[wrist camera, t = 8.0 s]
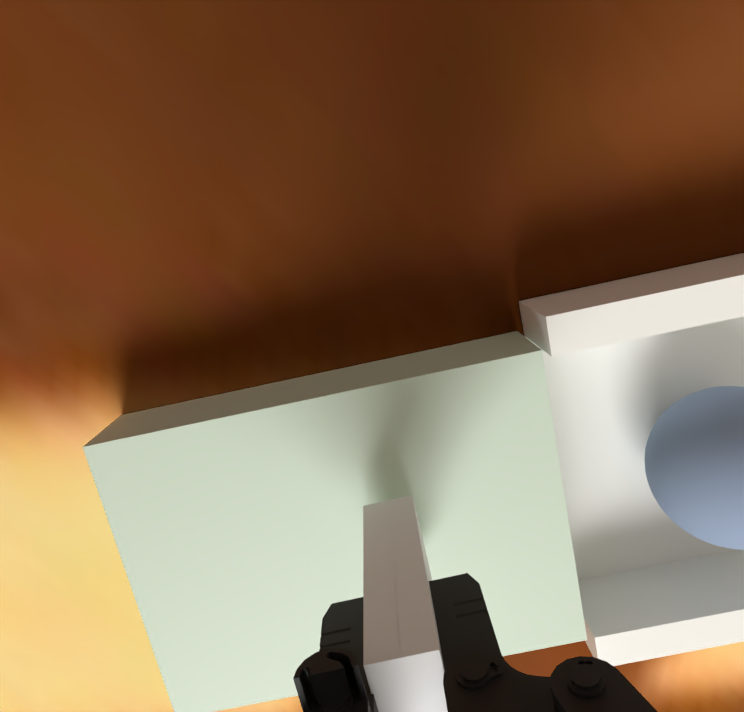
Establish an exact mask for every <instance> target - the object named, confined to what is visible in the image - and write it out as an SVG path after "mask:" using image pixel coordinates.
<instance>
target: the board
mask: <svg viewBox="0 0 744 712" xmlns="http://www.w3.org/2000/svg"><path fill="white" fill-rule="evenodd" d="M83 449H84V452H85V455H86V458H87V461H88V464H89V467H90V470H91V472H92V475H93V478H94V481H95V484H96V487H97V490H98V493H99V496H100V498H101V501H102V504H103V507H104V510H105V513H106V516H107V519H108V522H109V524H110V527H111V530H112V533H113V536H114V539H115V542H116V545H117V548H118V550H119V553H120V556H121V559H122V562H123V565H124V568H125V571H126V574H127V577H128V579H129V582H130V585H131V588H132V591H133V594H134V597H135V600H136V603H137V605H138V608H139V611H140V614H141V617H142V620H143V623H144V626H145V629H146V631H147V634H148V637H149V640H150V643H151V646H152V649H153V652H154V655H155V657H156V660H157V663H158V666H159V669H160V672H161V675H162V678H163V681H164V684H165V686H166V689H167V692H168V695H169V698H170V701H171V704H172V707H173V710H174V712H214V711H219V710H225V709H230V708H235V707H240V706H245V705H251V704H256V703H261V702H266V701H272V700H277V699H282V698H287V697H292V696H298V693H297V690H296V686H295V683H294V680H293V678H294V675H295V672H296V670H297V668H298V667H299V666H300V665H301V663H302V662H303V661H304V660H305V659H307V658H308V657H310V656H311V655H313V654H314V653H316V652H319V649H320V637H321V627H322V618H323V617H324V615H325V614H326V612H327V610H328V609H329V607H330V605H331V604H332V603H337V602H342V601H346V600H351V599H356V598H360V597H363V506H365V505H369V504H374V503H378V502H383V501H387V500H392V499H396V498H401V497H405V496H410V495H412V496H413V500H414V504H415V508H416V513H417V517H418V521H419V525H420V529H421V534H422V538H423V542H424V546H425V550H426V555H427V559H428V563H429V567H430V571H431V576H432V580H437V579H442V578H446V577H451V576H456V575H460V574H465V573H468V574H469V575H470V576H471V577H473V578H474V579H475V580H476V581H477V582H478V583H479V584H480V587H481V590H482V594H483V597H484V600H485V603H486V606H487V610H488V613H489V616H490V619H491V622H492V626H493V629H494V632H495V635H496V639H497V642H498V645H499V648H500V651H501V654H502V656H506V655H511V654H517V653H522V652H527V651H532V650H537V649H543V648H548V647H553V646H558V645H564V644H569V643H574V642H579V641H584V640H587V635H586V628H585V622H584V616H583V609H582V603H581V596H580V590H579V584H578V577H577V571H576V564H575V558H574V552H573V545H572V539H571V532H570V526H569V520H568V513H567V507H566V500H565V494H564V488H563V481H562V475H561V468H560V462H559V456H558V449H557V443H556V436H555V430H554V424H553V417H552V411H551V404H550V398H549V392H548V385H547V379H546V372H545V366H544V360H543V353H542V350H541V349H540V348H539V347H537V346H536V345H535V344H533V343H532V342H531V341H530V340H528V339H527V338H526V337H524V336H523V335H522V334H521V333H519V332H518V331H514V332H510V333H505V334H500V335H496V336H491V337H486V338H482V339H477V340H472V341H467V342H463V343H458V344H453V345H449V346H444V347H439V348H434V349H430V350H425V351H420V352H416V353H411V354H406V355H402V356H397V357H392V358H387V359H383V360H378V361H373V362H369V363H364V364H359V365H354V366H350V367H345V368H340V369H336V370H331V371H326V372H321V373H317V374H312V375H307V376H303V377H298V378H293V379H289V380H284V381H279V382H274V383H270V384H265V385H260V386H256V387H251V388H246V389H241V390H237V391H232V392H227V393H223V394H218V395H213V396H209V397H204V398H199V399H194V400H190V401H185V402H180V403H176V404H171V405H166V406H161V407H157V408H152V409H147V410H143V411H138V412H133V413H129V414H124V415H121V416H120V417H118V418H117V419H116V420H115V421H114V422H112V423H111V424H110V425H109V426H108V427H106V428H105V429H104V430H103V431H101V432H100V433H99V434H98V435H97V436H95V437H94V438H93V439H92V440H91V441H89V442H88V443H87V444H86V445H85V446H83Z"/></svg>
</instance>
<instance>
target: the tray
mask: <svg viewBox="0 0 744 712" xmlns="http://www.w3.org/2000/svg"><path fill="white" fill-rule="evenodd" d="M519 308H520V314H521V320H522V326H523V332H524V337H526V338H527V339H528V340H530V341H531V342H532V343H533V344H535V345H536V346H537V347H539V348H540V349H541V350H542V353H543V360H544V366H545V372H546V379H547V385H548V392H549V398H550V404H551V411H552V417H553V424H554V430H555V436H556V443H557V449H558V456H559V462H560V468H561V475H562V481H563V488H564V494H565V500H566V507H567V513H568V520H569V526H570V532H571V539H572V545H573V552H574V558H575V564H576V571H577V577H578V584H579V590H580V596H581V603H582V609H583V616H584V622H585V628H586V635H587V640H585V641H586V643H587V645H588V647H589V649H590V651H591V653H592V655H593V657H595V658H598V659H601V660H604V661H607V662H608V663H609V664H611V665H612V666H616V665H621V664H627V663H632V662H637V661H642V660H648V659H653V658H658V657H663V656H669V655H674V654H679V653H684V652H690V651H695V650H700V649H706V648H711V647H716V646H721V645H727V644H732V643H737V642H742V641H744V550H738V549H729V548H725V547H720V546H716V545H713V544H710V543H707V542H705V541H703V540H701V539H698V538H696V537H695V536H693V535H691V534H689V533H688V532H686V531H685V530H683V529H682V528H681V527H679V526H678V525H677V524H675V523H674V522H673V521H672V520H671V519H670V518H669V517H668V516H667V515H666V514H665V512H664V511H663V510H662V509H661V507H660V506H659V504H658V503H657V501H656V499H655V498H654V496H653V494H652V492H651V489H650V487H649V484H648V481H647V477H646V473H645V459H644V458H645V448H646V444H647V440H648V438H649V435H650V432H651V430H652V428H653V426H654V424H655V423H656V421H657V420H658V419H659V417H660V416H661V415H662V414H663V413H664V412H665V410H667V409H668V408H669V407H670V406H671V405H672V404H674V403H675V402H677V401H678V400H680V399H681V398H683V397H685V396H687V395H689V394H691V393H694V392H697V391H700V390H703V389H707V388H712V387H718V386H740V387H744V253H741V254H736V255H731V256H727V257H722V258H717V259H713V260H708V261H703V262H699V263H694V264H689V265H685V266H680V267H675V268H671V269H666V270H661V271H657V272H652V273H647V274H643V275H638V276H633V277H629V278H624V279H619V280H615V281H610V282H605V283H601V284H596V285H591V286H587V287H582V288H577V289H573V290H568V291H563V292H559V293H554V294H549V295H545V296H540V297H535V298H531V299H526V300H521V301H519Z"/></svg>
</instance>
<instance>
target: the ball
mask: <svg viewBox="0 0 744 712" xmlns="http://www.w3.org/2000/svg"><path fill="white" fill-rule="evenodd" d="M644 459H645V473H646V477H647V481H648V484H649V487H650V489H651V492H652V494H653V496H654V498H655V499H656V501H657V503H658V504H659V506H660V507H661V509H662V510H663V511H664V512H665V514H666V515H667V516H668V517H669V518H670V519H671V520H672V521H673V522H674V523H675V524H677V525H678V526H679V527H681V528H682V529H683V530H685V531H686V532H688V533H689V534H691V535H693V536H695V537H696V538H698V539H701V540H703V541H705V542H707V543H710V544H713V545H716V546H720V547H725V548H729V549H738V550H744V387H740V386H718V387H712V388H707V389H703V390H700V391H697V392H694V393H691V394H689V395H687V396H685V397H683V398H681V399H680V400H678V401H677V402H675V403H674V404H672V405H671V406H670V407H669V408H668V409H667V410H665V412H664V413H663V414H662V415H661V416H660V417H659V419H658V420H657V421H656V423H655V424H654V426H653V428H652V430H651V432H650V435H649V438H648V440H647V444H646V448H645V458H644Z"/></svg>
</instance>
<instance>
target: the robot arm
mask: <svg viewBox="0 0 744 712" xmlns="http://www.w3.org/2000/svg"><path fill="white" fill-rule="evenodd" d="M293 680H294V683H295V686H296V690H297V693H298V696H299V699H300V702H301V706H302V709H303V712H657V711H656V710H655V709H654V708H653V707H652V705H651V704H650V703H649V702H648V701H647V700H646V699H645V698H644V697H643V696H642V695H641V694H640V693H639V692H638V691H637V690H636V689H635V687H634V686H633V685H632V684H631V683H630V682H629V681H628V680H627V679H626V678H625V677H624V676H623V675H622V674H621V673H620V672H619V671H618V670H617V669H616V668H615V667H614V666H612V665H611V664H609V663H608V662H607V661H604V660H601V659H598V658H595V657H582V656H579V657H575V658H571V659H567V660H565V661H564V662H562V663H561V664H559V665H558V666H557V667H556V668H555V670H554V671H553V673H552V674H551V677H541V676H533V675H527V674H524V673H522V672H519V671H517V670H515V669H514V668H512V667H511V666H510V665H509V664H508V663H507V662H506V661H505V660H504V658H503V656H502V654H501V651H500V648H499V645H498V642H497V639H496V635H495V632H494V629H493V626H492V622H491V619H490V616H489V613H488V610H487V606H486V603H485V600H484V597H483V594H482V590H481V587H480V584H479V583H478V582H477V581H476V580H475V579H474V578H473V577H471V576H470V575H469V574H468V573H465V574H460V575H456V576H451V577H446V578H442V579H437V580H432V576H431V571H430V567H429V563H428V559H427V555H426V550H425V546H424V542H423V538H422V534H421V529H420V525H419V521H418V517H417V513H416V508H415V504H414V500H413V496H412V495H410V496H405V497H401V498H396V499H392V500H387V501H383V502H378V503H374V504H369V505H365V506H363V597H360V598H356V599H351V600H346V601H342V602H337V603H332V604H331V605H330V607H329V609H328V610H327V612H326V614H325V615H324V617H323V618H322V627H321V637H320V649H319V652H316V653H314V654H313V655H311V656H310V657H308V658H307V659H305V660H304V661H303V662H302V663H301V665H300V666H299V667H298V668H297V670H296V672H295V675H294V678H293Z"/></svg>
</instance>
